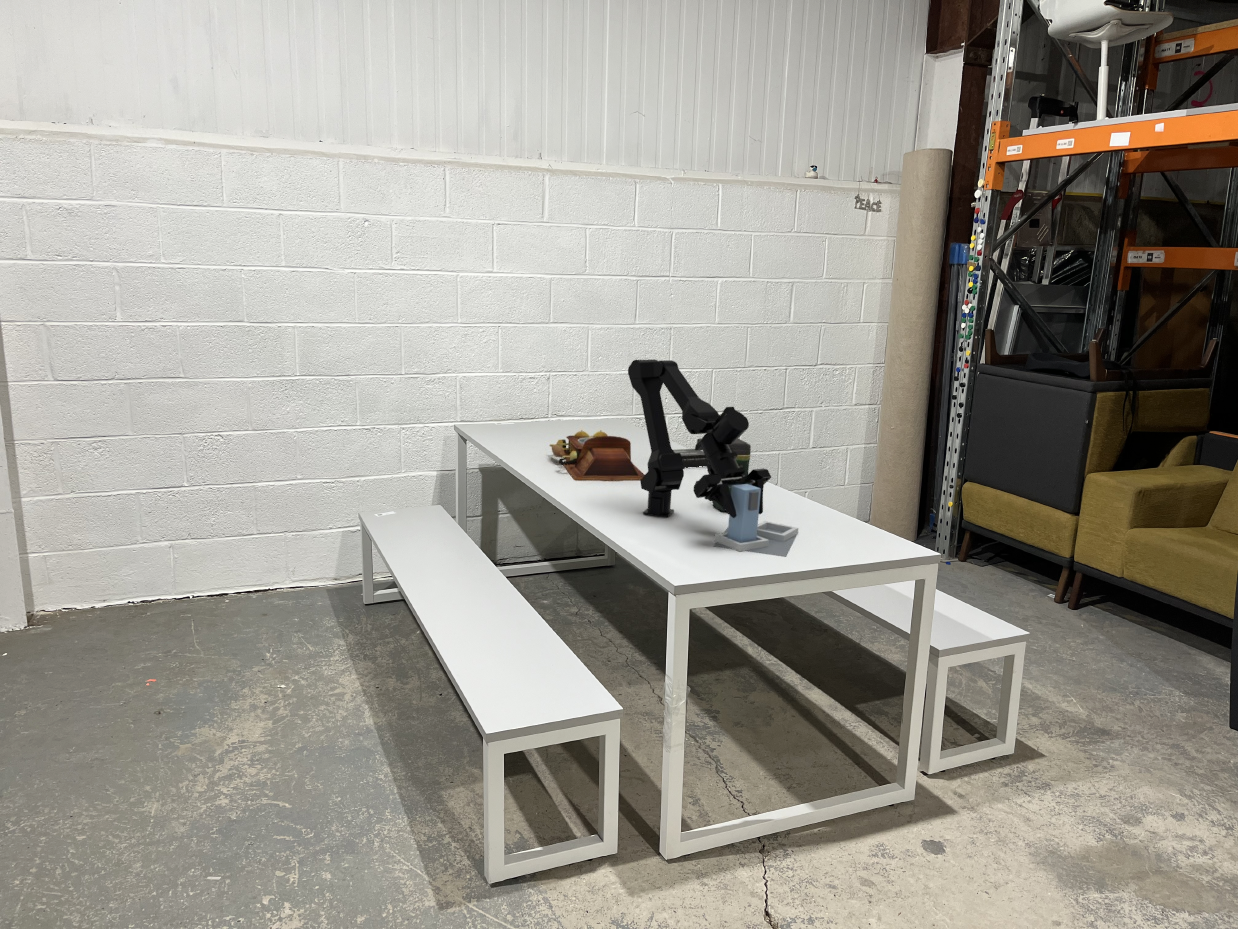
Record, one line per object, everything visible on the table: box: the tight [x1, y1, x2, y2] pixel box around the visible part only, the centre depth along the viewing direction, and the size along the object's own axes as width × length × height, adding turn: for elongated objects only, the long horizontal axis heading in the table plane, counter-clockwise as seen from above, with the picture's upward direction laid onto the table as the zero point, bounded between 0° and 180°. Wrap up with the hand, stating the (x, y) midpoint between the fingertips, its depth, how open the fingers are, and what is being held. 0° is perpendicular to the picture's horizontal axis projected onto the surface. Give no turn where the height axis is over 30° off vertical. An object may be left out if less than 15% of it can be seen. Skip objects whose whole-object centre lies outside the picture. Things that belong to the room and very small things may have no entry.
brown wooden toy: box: [549, 429, 645, 482], centre depth 280 cm, size 24×12×40 cm
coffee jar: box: [711, 438, 752, 512], centre depth 238 cm, size 10×8×19 cm
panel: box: [712, 520, 799, 558], centre depth 210 cm, size 22×17×2 cm
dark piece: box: [672, 448, 710, 468], centre depth 289 cm, size 20×14×17 cm
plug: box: [727, 484, 761, 543], centre depth 204 cm, size 5×4×13 cm
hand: (748, 515), depth 203 cm, fingers open, 7 cm apart
